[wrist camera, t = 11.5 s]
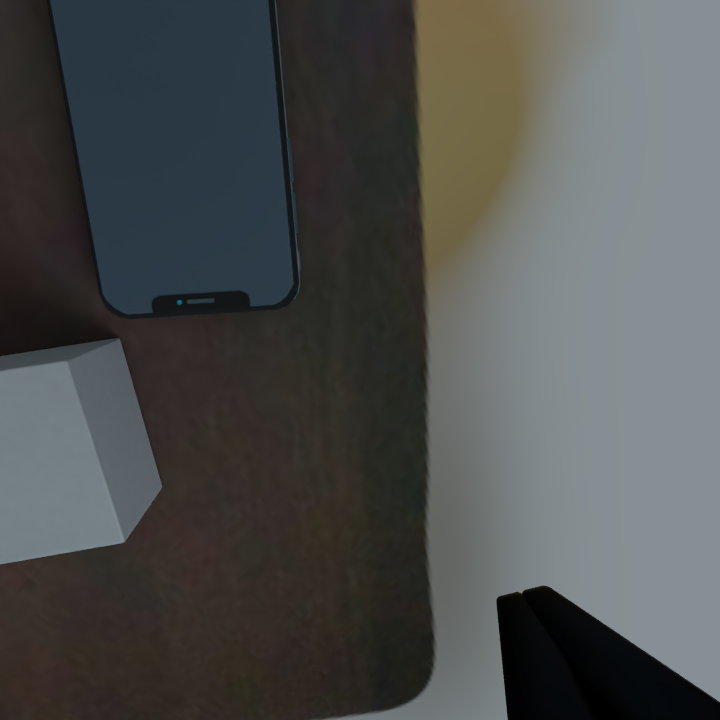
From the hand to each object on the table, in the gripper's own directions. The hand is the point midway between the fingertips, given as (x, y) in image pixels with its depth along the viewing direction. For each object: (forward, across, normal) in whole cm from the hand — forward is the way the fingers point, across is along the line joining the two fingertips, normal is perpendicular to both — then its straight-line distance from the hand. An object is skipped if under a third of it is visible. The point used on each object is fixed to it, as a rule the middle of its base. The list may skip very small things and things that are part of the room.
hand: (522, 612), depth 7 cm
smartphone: (+13, +6, -12) cm, 19 cm away
